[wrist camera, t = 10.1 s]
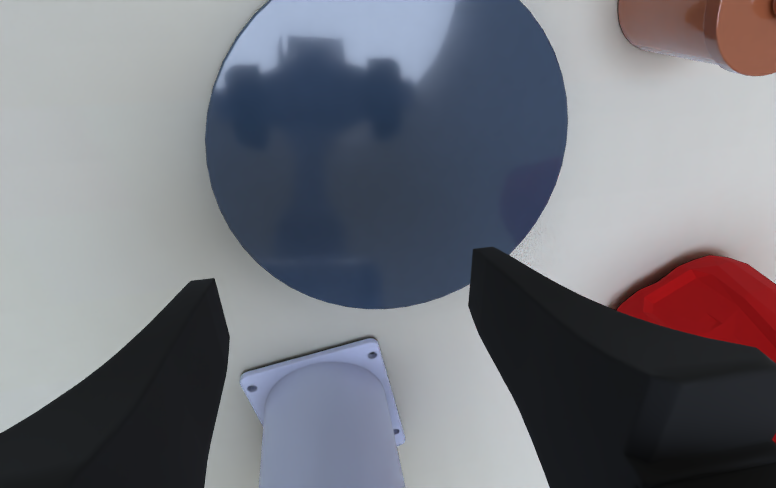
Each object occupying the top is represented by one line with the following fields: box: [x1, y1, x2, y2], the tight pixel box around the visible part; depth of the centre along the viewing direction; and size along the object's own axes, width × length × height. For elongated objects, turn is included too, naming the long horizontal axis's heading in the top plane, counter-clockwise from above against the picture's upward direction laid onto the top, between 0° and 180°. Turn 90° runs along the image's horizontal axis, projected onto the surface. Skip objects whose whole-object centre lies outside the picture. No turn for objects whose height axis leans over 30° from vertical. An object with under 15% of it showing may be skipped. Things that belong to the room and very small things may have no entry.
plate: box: [205, 0, 568, 309], centre depth 21 cm, size 16×16×1 cm
